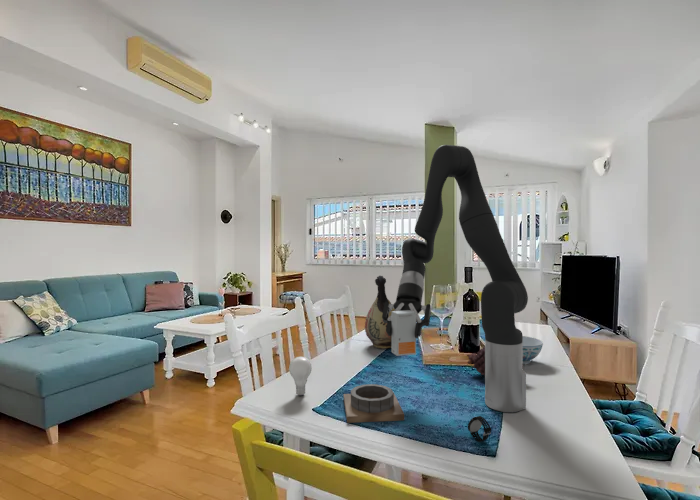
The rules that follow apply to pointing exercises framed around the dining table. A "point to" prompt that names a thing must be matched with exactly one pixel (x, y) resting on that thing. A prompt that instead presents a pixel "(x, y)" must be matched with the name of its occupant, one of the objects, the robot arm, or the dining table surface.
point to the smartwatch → (476, 425)
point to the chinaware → (531, 348)
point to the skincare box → (403, 332)
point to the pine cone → (478, 361)
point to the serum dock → (372, 404)
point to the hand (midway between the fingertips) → (402, 335)
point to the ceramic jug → (378, 318)
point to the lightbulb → (300, 373)
